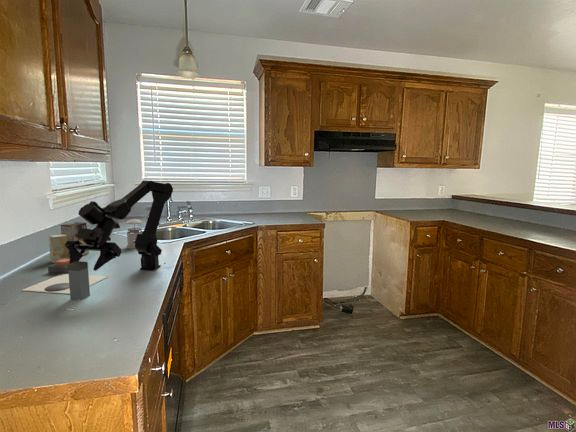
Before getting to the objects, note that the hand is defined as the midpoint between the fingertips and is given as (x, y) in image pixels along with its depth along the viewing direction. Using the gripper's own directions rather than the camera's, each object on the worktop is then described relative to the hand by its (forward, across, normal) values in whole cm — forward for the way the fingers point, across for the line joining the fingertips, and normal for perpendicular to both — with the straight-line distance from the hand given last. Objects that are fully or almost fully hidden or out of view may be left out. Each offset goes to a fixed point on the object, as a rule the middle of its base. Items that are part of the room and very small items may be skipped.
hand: (82, 269), depth 112 cm
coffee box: (-25, -40, +38) cm, 60 cm away
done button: (-10, -27, +21) cm, 36 cm away
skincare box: (-18, -40, +31) cm, 53 cm away
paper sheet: (0, -14, +13) cm, 19 cm away
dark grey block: (+8, 0, +5) cm, 9 cm away
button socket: (-9, -27, +22) cm, 36 cm away
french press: (-42, -23, +55) cm, 73 cm away
